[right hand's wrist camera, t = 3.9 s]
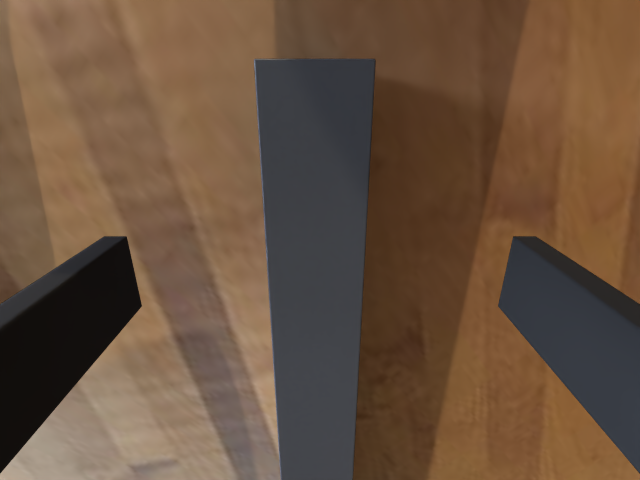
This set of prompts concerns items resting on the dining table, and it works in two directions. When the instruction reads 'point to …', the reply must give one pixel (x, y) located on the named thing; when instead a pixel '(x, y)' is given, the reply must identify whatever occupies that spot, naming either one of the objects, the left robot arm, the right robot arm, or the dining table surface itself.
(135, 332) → the dining table surface
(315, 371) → the bar
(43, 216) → the dining table surface
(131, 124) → the dining table surface
